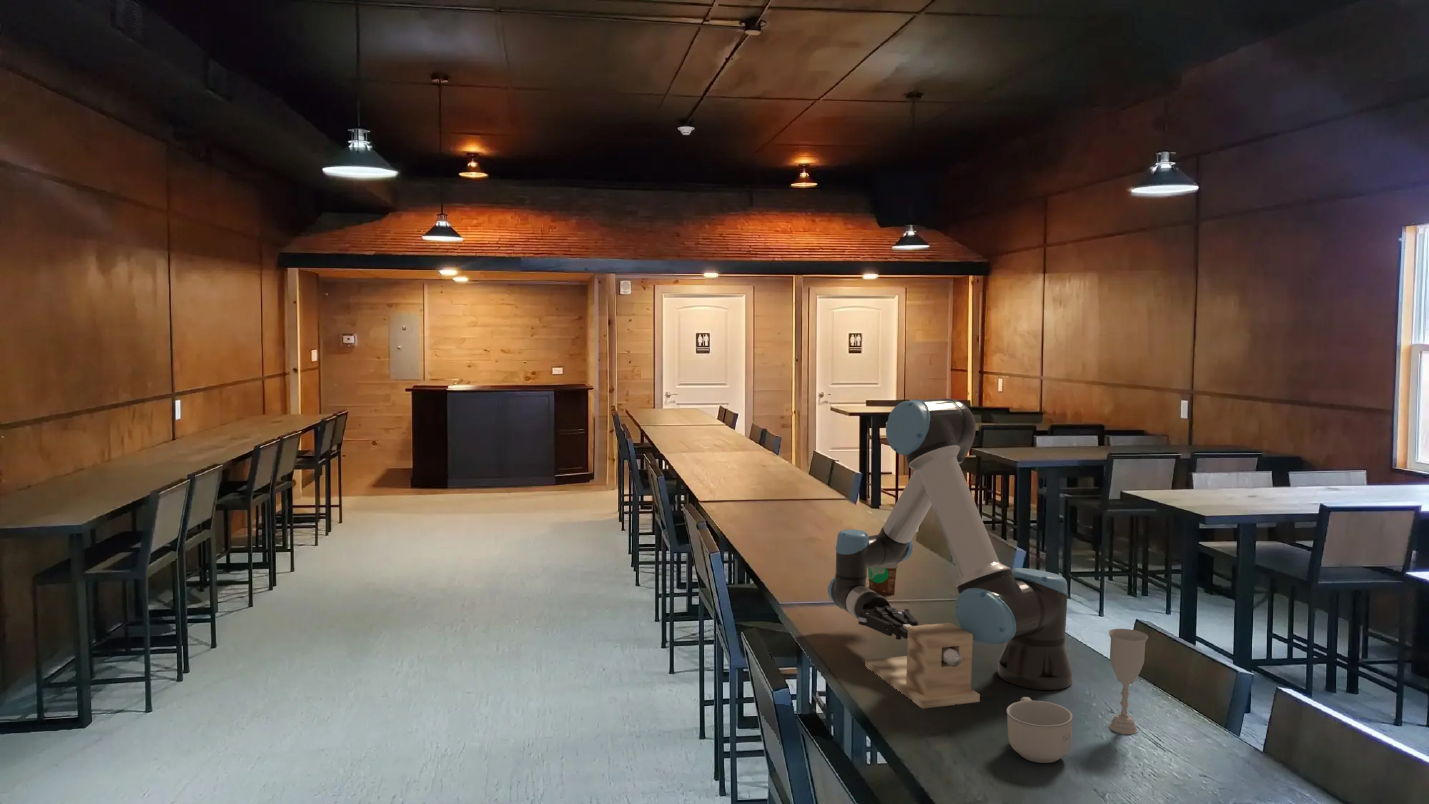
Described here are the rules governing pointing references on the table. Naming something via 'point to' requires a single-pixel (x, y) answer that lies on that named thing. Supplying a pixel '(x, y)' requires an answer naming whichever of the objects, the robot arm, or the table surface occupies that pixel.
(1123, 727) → the chalice
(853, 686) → the table surface
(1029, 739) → the teacup
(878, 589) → the food container
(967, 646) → the bearing stand
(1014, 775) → the table surface
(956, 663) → the shaft
